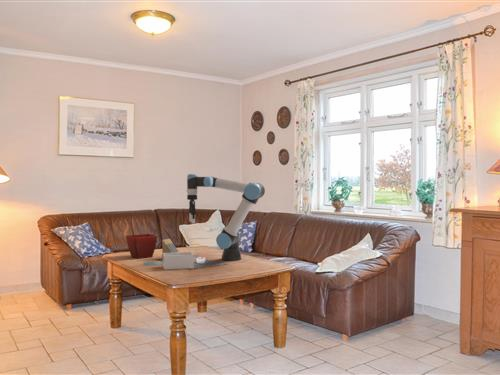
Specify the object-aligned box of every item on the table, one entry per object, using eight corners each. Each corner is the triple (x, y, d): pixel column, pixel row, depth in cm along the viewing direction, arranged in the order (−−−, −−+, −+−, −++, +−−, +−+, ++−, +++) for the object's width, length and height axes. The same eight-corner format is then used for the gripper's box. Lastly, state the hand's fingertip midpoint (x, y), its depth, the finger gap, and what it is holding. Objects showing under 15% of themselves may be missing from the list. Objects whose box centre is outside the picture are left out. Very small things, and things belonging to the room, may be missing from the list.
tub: (191, 265, 316) (191, 251, 316) (193, 269, 305) (193, 254, 305) (163, 267, 311) (163, 252, 311) (164, 270, 300) (164, 255, 300)
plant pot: (125, 256, 356) (125, 235, 355) (148, 254, 367) (148, 233, 367) (134, 259, 340) (134, 237, 340) (158, 257, 351) (157, 236, 351)
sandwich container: (176, 261, 336) (176, 241, 336) (162, 259, 345) (162, 239, 344) (184, 259, 343) (184, 240, 343) (169, 257, 352) (169, 238, 352)
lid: (179, 261, 332) (179, 253, 332) (181, 264, 320) (181, 256, 320) (143, 263, 326) (143, 255, 326) (143, 266, 314) (143, 258, 314)
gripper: (185, 194, 349) (185, 221, 349) (189, 195, 325) (189, 224, 325) (195, 193, 351) (195, 220, 351) (199, 195, 326) (199, 223, 327)
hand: (192, 222), depth 338 cm, fingers open, 13 cm apart
